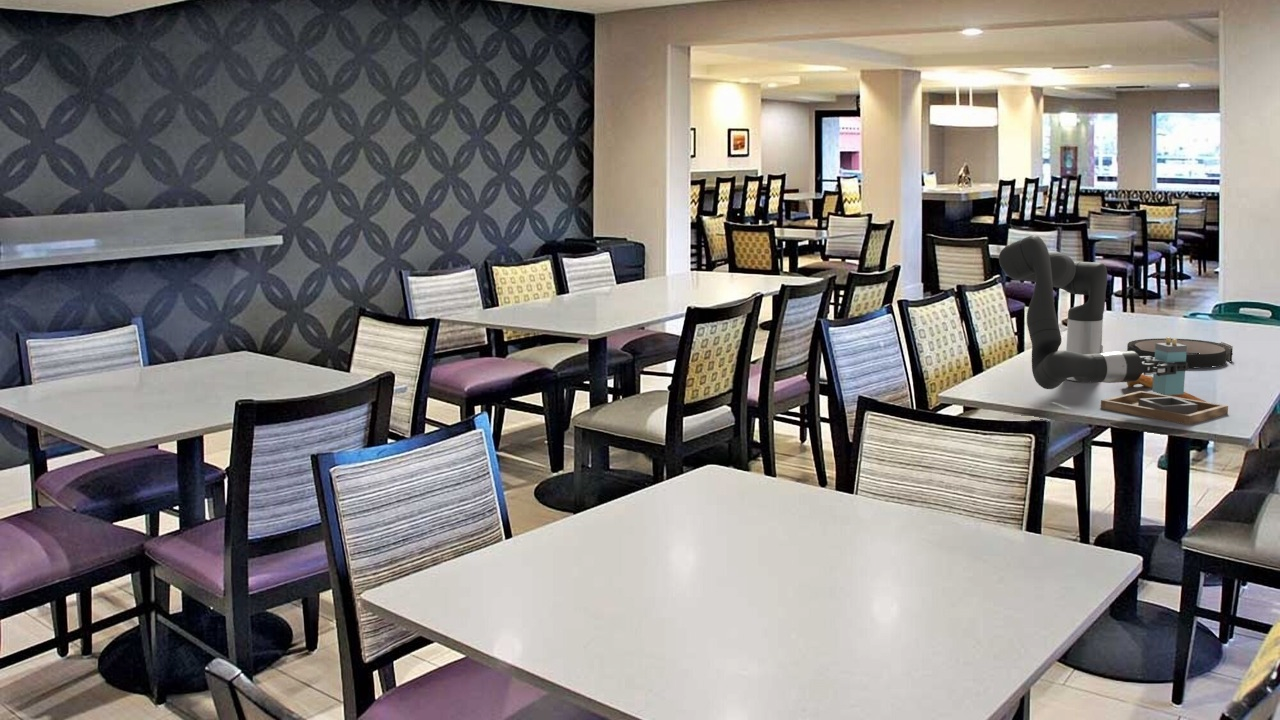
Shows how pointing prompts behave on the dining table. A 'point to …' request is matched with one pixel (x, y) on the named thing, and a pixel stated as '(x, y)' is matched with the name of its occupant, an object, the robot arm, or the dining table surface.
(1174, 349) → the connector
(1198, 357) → the belt
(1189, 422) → the walled box
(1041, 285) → the robot arm
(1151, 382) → the bone
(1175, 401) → the socket
